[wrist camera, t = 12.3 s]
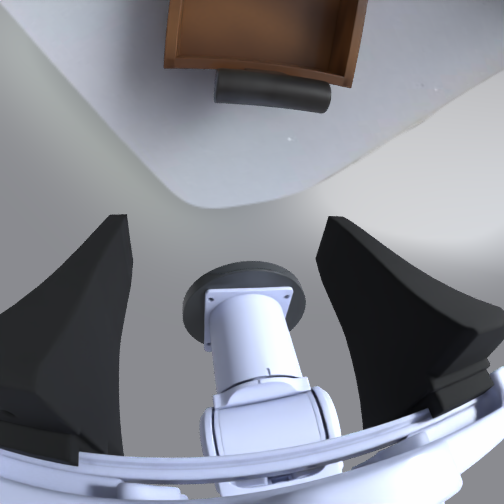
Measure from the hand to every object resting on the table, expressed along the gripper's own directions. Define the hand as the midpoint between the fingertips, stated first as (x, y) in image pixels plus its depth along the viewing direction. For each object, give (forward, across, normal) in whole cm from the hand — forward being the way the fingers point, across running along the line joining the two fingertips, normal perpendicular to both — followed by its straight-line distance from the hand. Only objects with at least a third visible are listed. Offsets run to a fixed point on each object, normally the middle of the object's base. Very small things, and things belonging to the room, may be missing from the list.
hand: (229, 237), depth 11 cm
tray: (+10, -2, -9) cm, 14 cm away
